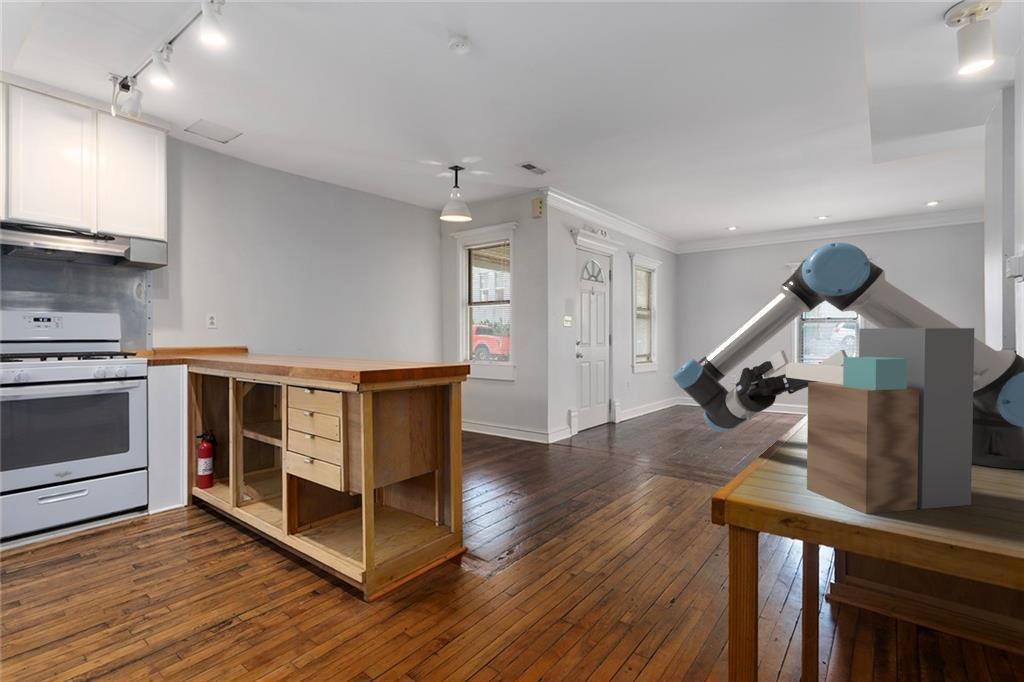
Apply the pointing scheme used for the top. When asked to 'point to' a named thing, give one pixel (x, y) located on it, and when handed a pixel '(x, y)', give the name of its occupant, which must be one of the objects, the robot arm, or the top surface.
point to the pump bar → (855, 373)
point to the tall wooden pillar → (863, 446)
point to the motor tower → (936, 404)
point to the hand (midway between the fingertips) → (815, 356)
